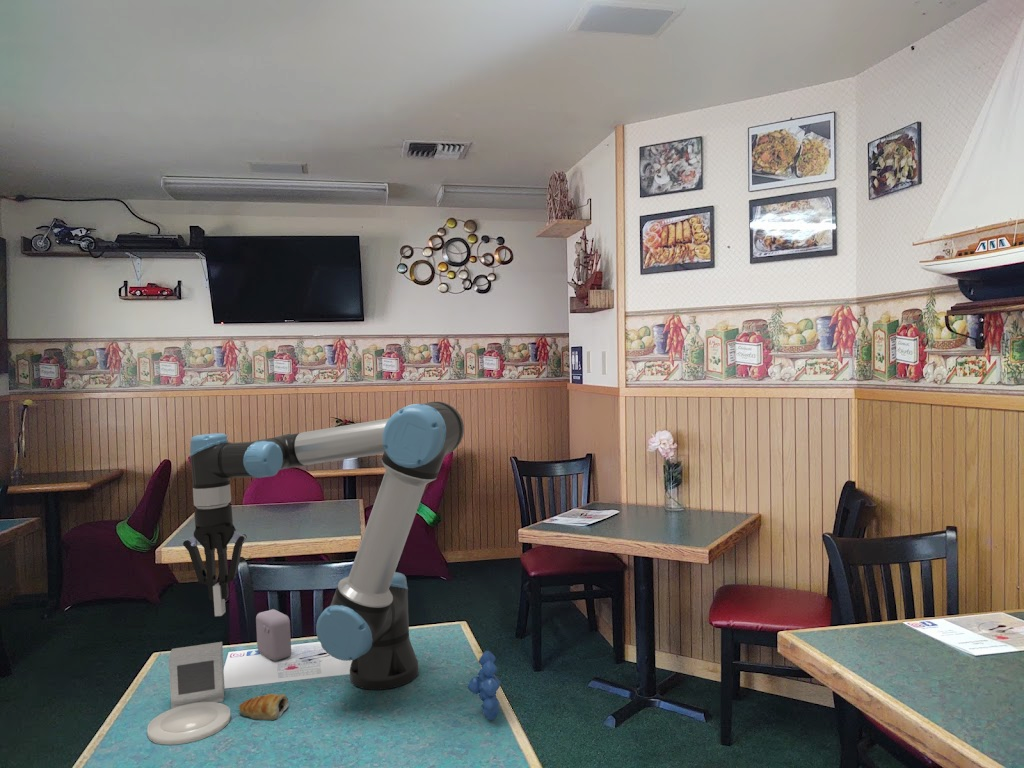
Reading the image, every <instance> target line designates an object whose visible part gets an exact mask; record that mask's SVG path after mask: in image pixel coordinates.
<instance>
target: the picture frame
mask: <svg viewBox="0 0 1024 768" xmlns="http://www.w3.org/2000/svg"><path fill="white" fill-rule="evenodd" d="M223 651H224V650H223V641H219V642H218V641H217V642H211V643H204V644H198V645H190V646H189V645H188V646H185V647H184V646H181V647H176V648H171V650H170V652H169V656H168V670H169V673H168V674H169V688H170V689H169V690H170V707H171V708H170V709H173V708H176V707H179V706H182V705H186V704H191V703H198V702H217V703H224V699H225V692H226V691H225V675H224V674H225V673H224V671H225V670H224V668H225V667H224V653H223Z"/></svg>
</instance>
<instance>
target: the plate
mask: <svg viewBox="0 0 1024 768" xmlns="http://www.w3.org/2000/svg"><path fill="white" fill-rule="evenodd" d="M230 721H231V709H230V707H229V706H228V705H226V704H224V703H222V702H218V703H217V702H198V703H191V704H186V705H182V706H179V707H176V708H173V709H171V708H170V709H169V710H166V711H164V712H162V713H160V714H158V715H157V716H155V717H154V718H152V720H150V722H149V723H148V724H147V733H146V734H147V738H148V740H150V741H151V742H152V743H155V744H159V745H163V746H164V745H166V746H167V745H169V746H175V745H183V744H184V745H185V744H189V743H193V742H197V741H200V740H203V739H206V738H209V737H211V736H213V735H215V734H217V733H219V732H220V731H221V730H223V729H224V728H226V727H227V726H228V724H229V723H230Z"/></svg>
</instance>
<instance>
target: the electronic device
mask: <svg viewBox="0 0 1024 768" xmlns="http://www.w3.org/2000/svg"><path fill="white" fill-rule="evenodd" d="M255 624H256V625H255V627H256V646H257V647H256V648H257V651H258V653H260V654H262V655H263V656H265V657H266V658H268V659H270V660H271V661H275V662H276V661H281V660H283V659H286V658H290V657H291V656H292V641H291V640H292V638H291V636H292V635H291V620H290V618H289V616H288V615H287V614H284V613H283V612H280V611H278V610H276V609H275V608H272V609H270V610H265V611H260V612H258V613H257V614H256V617H255Z"/></svg>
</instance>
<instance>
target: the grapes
mask: <svg viewBox="0 0 1024 768" xmlns="http://www.w3.org/2000/svg"><path fill="white" fill-rule="evenodd" d="M496 659H497V658H496V656H495V655H494V654H493V653H492V652H491V651H489V650H485V651H484V652H483V653H482V654H481V655H480V658H479V660H478V663H479V665H480V669H479V671H478V673H477V675H478V676H473V677H472V678H471V679H470V680H469V682H468V683H467V685H466V688H468V690H469V691H470V692H471V693H472V695H478V696H479V697H478V698H479V699H480V701H482V704H481V708H482V713H483V716H485V718H487V719H488V720H490V721H494V719H496V717H497V716H498V713H500V712H499V711H500V708H499V706H500V704H501V702H500V700H498V698H497V691H498V690H499V688H500V687H501V685H502V682H501V681H500V680H499V679H498V677H497V676H496V675H495V674H496V673H497V671H498V667H497V665H496V664H494V663H495V661H496Z"/></svg>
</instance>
